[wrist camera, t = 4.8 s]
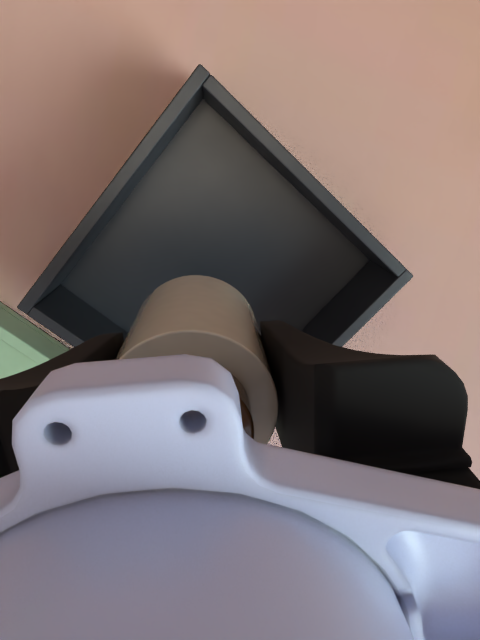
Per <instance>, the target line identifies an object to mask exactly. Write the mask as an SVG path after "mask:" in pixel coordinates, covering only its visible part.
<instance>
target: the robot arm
mask: <svg viewBox="0 0 480 640" xmlns="http://www.w3.org/2000/svg"><path fill="white" fill-rule="evenodd" d="M260 329H261V339H262V342H263V346H264V349H265V352H266V356H267V359H268V363H269V366H270V370H271V373H272V377H273V380H274V383H275V387H276V391H277V395H278V417H277V422H276V425H275V427H276V430H277V433H278V436H279V439H280V441H281V444H282V447H278V446H273V445H268V444H264V443H259V442H256V441H255V440H253V439H252V438H251V437H250V436H249V435H247V434H246V432H245V430H244V429H243V424H242V416H241V408H240V400H239V393H238V390H237V388H236V385H235V383H234V380H233V377H232V375H231V373H230V372H229V371H228V370H226V369H225V368H224V367H222V366H221V365H220V364H219V363H217V362H216V361H215V360H213V359H212V358H208V357H201V356H195V355H188V354H181V355H169V356H156V357H144V358H132V359H120V360H115V359H116V357H117V355H118V353H119V351H120V349H121V347H122V345H123V343H124V337H123V332H121V333H109V334H101V335H98V336H96V337H93V338H91V339H89V340H87V341H85V342H83V343H81V344H80V345H78V346H76V347H74V348H72V349H70V350H68V351H66V352H65V353H63V354H60V355H58V356H56V357H54V358H52V359H50V360H48V361H46V362H44V363H42V364H40V365H37V366H35V367H33V368H30V369H28V370H25V371H22V372H20V373H17V374H14V375H11V376H8V377H5V378H1V379H0V640H480V481H479V479H478V478H477V477H476V476H475V475H474V474H473V472H472V471H471V470H470V469H469V468H468V467H471V464H472V461H471V457H470V456H469V455H468V454H467V453H466V452H465V450H464V449H463V448H462V444H463V437H464V430H465V424H466V417H467V410H468V396H467V393H466V390H465V387H464V383H463V382H462V381H461V379H460V378H459V377H458V375H457V374H456V373H455V372H454V371H453V370H452V369H451V368H450V367H448V366H447V365H446V364H445V363H444V362H443V361H441V360H440V359H439V358H438V357H437V356H436V355H386V354H375V353H368V352H362V351H356V350H351V349H347V348H343V347H340V346H336V345H333V344H330V343H327V342H324V341H322V340H320V339H317V338H315V337H312V336H310V335H308V334H306V333H304V332H302V331H300V330H298V329H296V328H295V327H293V326H291V325H289V324H287V323H285V322H283V321H281V320H273V321H260Z"/></svg>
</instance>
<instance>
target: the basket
mask: <svg viewBox="0 0 480 640" xmlns="http://www.w3.org/2000/svg"><path fill="white" fill-rule="evenodd" d="M189 275H202V276H209V277H213V278H216V279H219V280H222V281H224V282H226V283H228V284H229V285H231V286H232V287H234V288H235V289H237V290H238V291H239V292H240V293H241V294H242V295H243V296H244V297H245V299H246V300H247V301H248V303H249V304H250V306H251V308H252V310H253V312H254V315H255V318H256V322H257V325H258V328H259V332H260V335H261V329H260V321H273V320H281V321H283V322H285V323H287V324H289V325H291V326H293V327H295V328H296V329H298V330H300V331H302V332H304V333H306V334H308V335H310V336H312V337H315V338H317V339H320V340H322V341H324V342H327V343H330V344H333V345H336V346H340V347H342V346H343V345H344V344H345V343H346V342H347V341H348V340H349V339H351V338H352V337H353V336H354V335H355V334H356V333H357V332H358V331H359V330H360V329H361V328H362V327H363V326H364V325H365V324H366V323H367V322H368V321H369V320H370V319H371V318H372V317H373V316H374V315H375V314H376V313H377V312H378V311H379V310H380V309H381V308H382V307H383V306H384V305H385V304H386V303H387V302H388V301H389V300H390V299H391V298H392V297H393V296H394V295H395V294H396V293H397V292H398V291H399V290H400V289H401V288H402V287H403V286H404V285H405V284H406V283H407V282H408V281H409V280H410V279H411V278H412V277H413V275H412V274H411V273H410V272H409V271H408V270H407V269H406V268H405V267H404V266H403V265H402V264H401V263H400V262H399V261H398V260H397V259H396V258H395V257H394V256H393V255H392V254H391V253H390V252H389V251H388V250H387V249H386V248H385V247H384V246H383V245H382V244H381V243H380V242H379V241H378V240H377V239H376V238H375V237H374V236H373V235H372V234H371V233H370V232H369V231H368V230H367V229H366V228H365V227H364V226H363V225H362V224H361V223H360V222H359V221H358V220H357V219H356V218H355V217H354V216H353V215H352V214H351V213H350V212H349V211H348V210H347V209H346V208H345V207H344V206H343V205H342V204H341V203H340V202H339V201H338V200H337V199H336V198H335V197H334V196H333V195H332V194H331V193H330V192H329V191H328V190H327V189H326V188H325V187H324V186H323V185H322V184H321V183H320V182H319V181H318V180H317V179H316V178H315V177H314V176H313V175H312V174H311V173H310V172H309V171H308V170H307V169H306V168H305V167H304V166H303V165H302V164H301V163H300V162H299V161H298V160H297V159H296V158H295V157H294V156H293V155H292V154H291V153H290V152H289V151H288V150H286V149H285V148H284V147H283V146H282V145H281V144H280V143H279V142H278V141H277V140H276V139H275V138H274V137H273V136H272V135H271V134H270V133H269V132H268V131H267V130H266V129H265V128H264V127H263V126H262V125H261V124H260V123H259V122H258V121H257V120H256V119H255V118H254V117H253V116H252V115H251V114H250V113H249V112H248V111H247V110H246V109H245V108H244V107H243V106H242V105H241V104H240V103H239V102H238V101H237V100H236V99H235V98H234V97H233V96H232V95H231V94H230V93H229V92H228V91H227V90H226V89H225V88H224V87H223V86H222V85H221V84H220V83H219V82H218V81H217V80H216V79H215V78H214V77H213V76H212V75H210V73H209V72H208V71H207V70H206V69H205V68H204V67H203V66H202V65H201V64H199V65H198V66H197V68H196V69H195V70H194V72H193V73H192V74H191V76H190V77H189V78H188V80H187V81H186V82H185V84H184V85H183V86H182V88H181V89H180V90H179V92H178V93H177V94H176V96H175V97H174V98H173V100H172V101H171V102H170V104H169V105H168V106H167V108H166V109H165V110H164V112H163V113H162V114H161V116H160V117H159V118H158V120H157V121H156V122H155V124H154V125H153V126H152V128H151V129H150V130H149V132H148V133H147V134H146V136H145V137H144V138H143V140H142V141H141V142H140V144H139V145H138V146H137V148H136V149H135V150H134V152H133V153H132V154H131V156H130V157H129V158H128V160H127V161H126V162H125V164H124V165H123V166H122V168H121V169H120V170H119V172H118V173H117V174H116V176H115V177H114V178H113V180H112V181H111V182H110V184H109V185H108V186H107V188H106V189H105V190H104V192H103V193H102V194H101V196H100V197H99V198H98V200H97V201H96V202H95V204H94V205H93V206H92V208H91V209H90V210H89V212H88V213H87V214H86V216H85V217H84V218H83V220H82V221H81V222H80V224H79V225H78V226H77V228H76V229H75V230H74V232H73V233H72V234H71V236H70V237H69V238H68V240H67V241H66V242H65V244H64V245H63V246H62V248H61V249H60V250H59V252H58V253H57V254H56V256H55V257H54V258H53V260H52V261H51V262H50V264H49V265H48V266H47V268H46V269H45V270H44V272H43V273H42V274H41V276H40V277H39V278H38V280H37V281H36V282H35V284H34V285H33V286H32V288H31V289H30V290H29V292H28V293H27V294H26V296H25V297H24V298H23V300H22V301H21V302H20V304H19V305H18V306H17V308H18V309H20V310H21V311H23V312H24V313H25V314H28V316H30V317H31V318H33V319H34V320H36V321H37V322H38V323H40V324H41V325H43V326H44V327H46V328H47V329H49V330H50V331H52V332H53V333H55V334H56V335H58V336H59V337H60V338H62V339H63V340H65V341H66V342H68V343H69V344H71V345H72V346H74V347H76V346H78V345H80V344H81V343H83V342H85V341H87V340H89V339H91V338H93V337H96V336H98V335H101V334H109V333H121V332H123V337H124V341H125V338H126V336H127V334H128V332H129V330H130V328H131V326H132V324H133V322H134V320H135V318H136V316H137V314H138V312H139V310H140V308H141V306H142V304H143V302H144V301H145V300H146V298H147V297H148V296H149V295H150V294H151V293H152V292H153V291H154V290H155V289H156V288H158V287H159V286H160V285H162V284H164V283H165V282H167V281H170V280H172V279H175V278H178V277H182V276H189Z"/></svg>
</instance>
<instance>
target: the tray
mask: <svg viewBox="0 0 480 640" xmlns="http://www.w3.org/2000/svg"><path fill="white" fill-rule="evenodd" d="M68 350H70V349H69V348H67V347H66V346H64V345H63V344H61V343H60V342H58V341H57V340H55V339H54V338H53V337H51V336H50V335H48V334H47V333H45V332H44V331H42V330H41V329H39V328H38V327H36V326H35V325H33V324H32V323H30V322H29V321H27V320H26V319H25V318H23V317H22V316H20V315H19V314H17V313H16V312H14V311H13V310H11V309H10V308H8V307H7V306H5V305H4V304H2V303H1V302H0V379H1V378H5V377H8V376H11V375H14V374H17V373H20V372H22V371H25V370H28V369H30V368H33V367H35V366H37V365H40V364H42V363H44V362H46V361H48V360H50V359H52V358H54V357H56V356H58V355H60V354H63V353H65V352H66V351H68Z"/></svg>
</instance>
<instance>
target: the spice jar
mask: <svg viewBox="0 0 480 640" xmlns="http://www.w3.org/2000/svg"><path fill="white" fill-rule="evenodd" d="M181 354H188V355H195V356H201V357H208V358H212V359H213V360H215V361H216V362H217V363H219V364H220V365H221V366H222V367H224V368H225V369H226V370H228V371H229V372H230V373H231V375H232V377H233V380H234V383H235V385H236V388H237V390H238V393H239V400H240V408H241V416H242V424H243V429H244V430H245V432H246V434H247V435H249V436H250V437H251V438H252V439H253V440H255V441H256V442H259V443H264V444H267V443H268V441H269V440H270V438H271V436H272V434H273V431H274V428H275V425H276V422H277V417H278V395H277V391H276V387H275V383H274V380H273V377H272V373H271V370H270V366H269V363H268V359H267V356H266V352H265V349H264V346H263V342H262V339H261V335H260V332H259V328H258V325H257V322H256V318H255V315H254V312H253V310H252V308H251V306H250V304H249V303H248V301H247V300H246V299H245V297H244V296H243V295H242V294H241V293H240V292H239V291H238V290H237V289H235V288H234V287H232V286H231V285H229V284H228V283H226V282H224V281H222V280H219V279H216V278H213V277H209V276H202V275H189V276H182V277H178V278H175V279H172V280H170V281H167V282H165V283H164V284H162V285H160V286H159V287H158V288H156V289H155V290H154V291H153V292H152V293H151V294H150V295H149V296H148V297H147V298H146V300H145V301H144V302H143V304H142V306H141V308H140V310H139V312H138V314H137V316H136V318H135V320H134V322H133V324H132V326H131V328H130V330H129V332H128V334H127V336H126V338H125V341H124V343H123V345H122V347H121V349H120V351H119V353H118V355H117V357H116V359H115V360H120V359H132V358H144V357H156V356H169V355H181Z"/></svg>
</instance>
